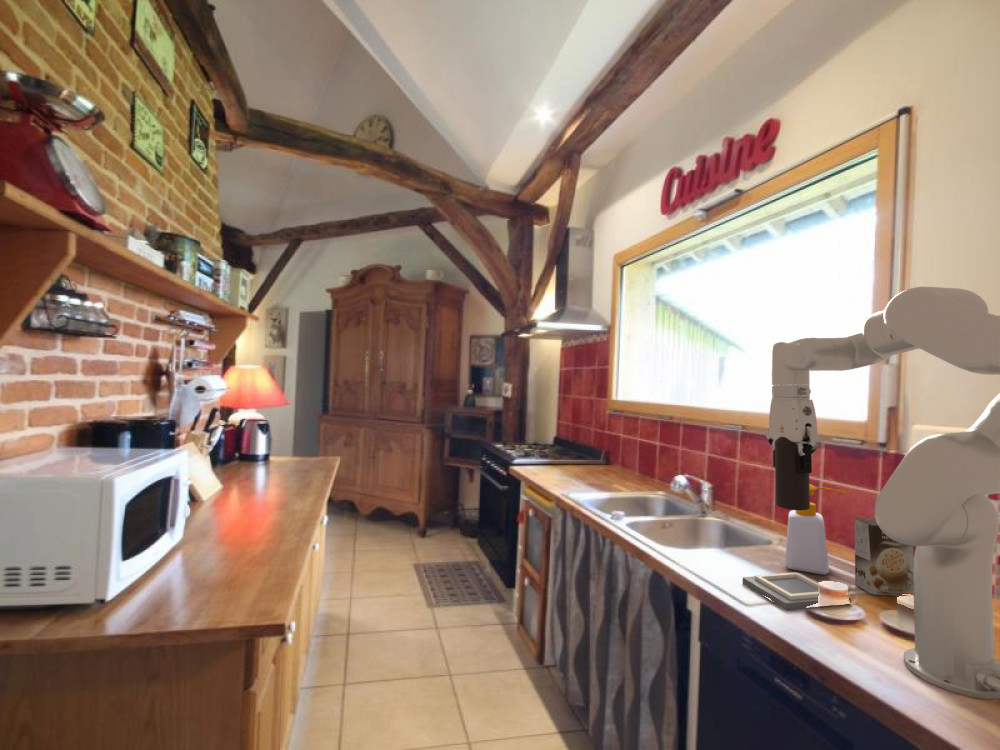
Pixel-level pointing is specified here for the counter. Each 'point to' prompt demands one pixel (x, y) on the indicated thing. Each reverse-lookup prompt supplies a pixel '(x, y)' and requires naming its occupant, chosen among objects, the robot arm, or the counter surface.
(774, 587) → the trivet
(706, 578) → the counter surface
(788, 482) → the vinegar
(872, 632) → the counter surface
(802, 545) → the soap bottle
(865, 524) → the cookie box
